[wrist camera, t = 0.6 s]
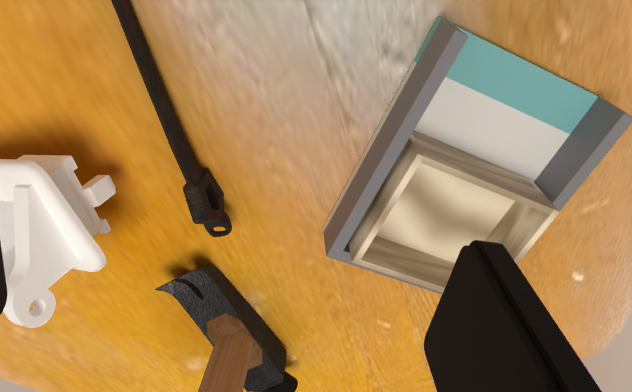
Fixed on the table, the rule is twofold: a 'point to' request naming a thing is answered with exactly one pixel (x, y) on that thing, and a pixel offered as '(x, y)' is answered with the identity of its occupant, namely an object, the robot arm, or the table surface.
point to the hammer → (231, 335)
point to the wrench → (176, 133)
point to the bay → (482, 124)
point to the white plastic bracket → (47, 230)
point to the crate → (445, 213)
